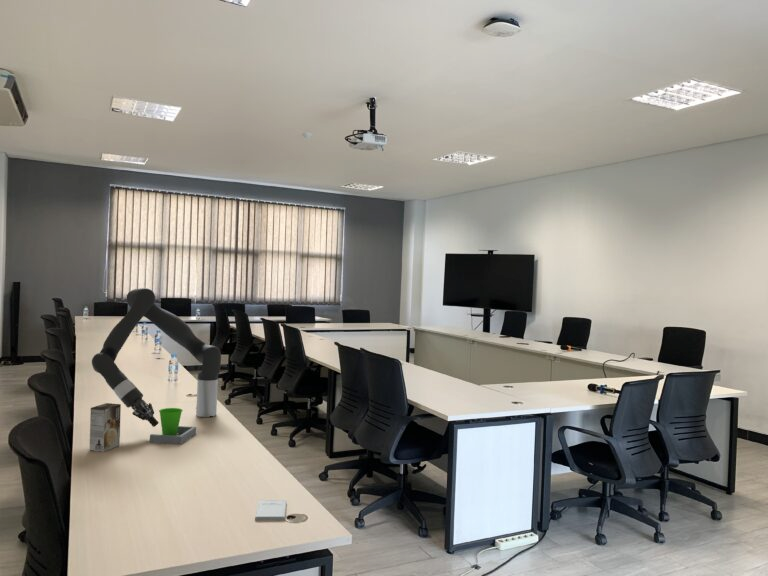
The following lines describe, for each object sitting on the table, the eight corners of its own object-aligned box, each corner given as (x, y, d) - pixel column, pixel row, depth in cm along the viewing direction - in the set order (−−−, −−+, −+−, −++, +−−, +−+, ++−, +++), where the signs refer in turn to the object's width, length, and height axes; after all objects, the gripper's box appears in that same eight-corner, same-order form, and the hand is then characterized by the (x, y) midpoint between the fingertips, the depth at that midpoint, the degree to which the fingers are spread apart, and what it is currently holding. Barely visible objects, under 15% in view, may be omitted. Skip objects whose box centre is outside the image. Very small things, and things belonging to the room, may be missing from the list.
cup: (184, 434, 241) (185, 408, 240) (176, 440, 232) (177, 413, 231) (162, 433, 241) (164, 407, 241) (154, 439, 232) (155, 412, 231)
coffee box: (105, 444, 223) (106, 402, 223) (120, 445, 222) (121, 403, 222) (88, 450, 214) (90, 407, 214) (103, 452, 213) (105, 409, 213)
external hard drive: (254, 522, 160) (258, 504, 173) (284, 522, 161) (286, 504, 174) (255, 516, 160) (258, 499, 173) (285, 516, 161) (286, 499, 174)
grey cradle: (166, 432, 243) (166, 425, 243) (195, 434, 242) (196, 426, 242) (149, 442, 228) (150, 434, 228) (181, 444, 227) (181, 436, 227)
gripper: (126, 390, 229) (155, 422, 228) (142, 384, 242) (169, 415, 242) (113, 402, 229) (142, 435, 229) (129, 396, 242) (156, 427, 242)
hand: (156, 425), depth 235 cm, fingers closed
